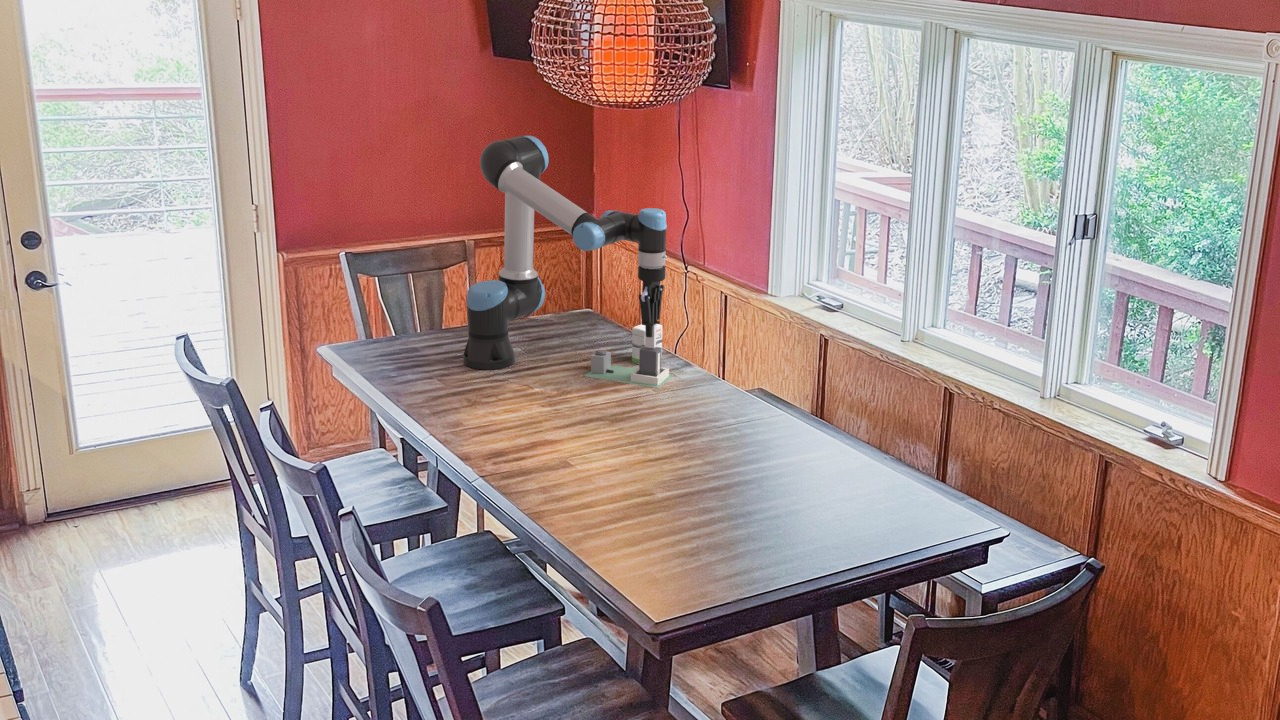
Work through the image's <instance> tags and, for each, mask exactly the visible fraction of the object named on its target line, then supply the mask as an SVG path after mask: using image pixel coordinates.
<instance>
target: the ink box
mask: <svg viewBox="0 0 1280 720" xmlns="http://www.w3.org/2000/svg"><path fill="white" fill-rule="evenodd" d="M631 331H632V336H631V337H632V341H631V343H632V344H631V347H632V350H631V363H634V364H637V365H639V357H640V349H641V348H642V347H644V346H645V325H642V323H641V324H638V325H635V326H633V327H632V330H631ZM656 347H660V348H661V359H662V358H663V357H662V356H663V355H662V354H663V324H656Z"/></svg>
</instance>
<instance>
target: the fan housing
mask: <svg viewBox="0 0 1280 720" xmlns="http://www.w3.org/2000/svg"><path fill="white" fill-rule="evenodd" d="M611 365H612V352H611V351H607V350H604V349H603V350H601V349H599V350H595V352H594V353H592V354H591V355H590V371H591V372H594V373H601V374H604V373H606V372H610V373H613V372H614V371H613V370H610V369H611Z"/></svg>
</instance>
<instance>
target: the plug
mask: <svg viewBox="0 0 1280 720" xmlns="http://www.w3.org/2000/svg"><path fill="white" fill-rule="evenodd" d="M638 365H639V367H638V368H639V374H641V375H647V376H654V377H657V376H658V375H659V374H660V373H661V368H662V358H661V348H660V347H655V348H649V347H645V346H644V347H642V348H641V349H640V357H639V364H638Z"/></svg>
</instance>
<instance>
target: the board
mask: <svg viewBox="0 0 1280 720" xmlns="http://www.w3.org/2000/svg"><path fill="white" fill-rule="evenodd" d="M637 369H638V368H634V367H628V366H622V365H621V366H620V365H614V364H611V369H610V370H613V371H614V372H613V373H610V372H606V373H604V374H601V373H594V372H591V370H590V371H588V372H587V373H586V374H584V375H583V377H586V378H592V379H598V380H605V381H612V382H617V383H618V382H619V383H624V384H630V385H635V386H642V387H648V388H655V389H659V388H661V386H663V385H664V384H665V383H666V382H668V381H669V380H670V379H671V378H672V377H673V376H674V374H673V373H669V376H668V377H667V378H666V379H665V380H664V381H662V382H661V383H660V384H659V385H658V386H657V385H651V384H644V383H638V382H632V381H631V374H632V373H633V372H634V371H635V370H637Z"/></svg>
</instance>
